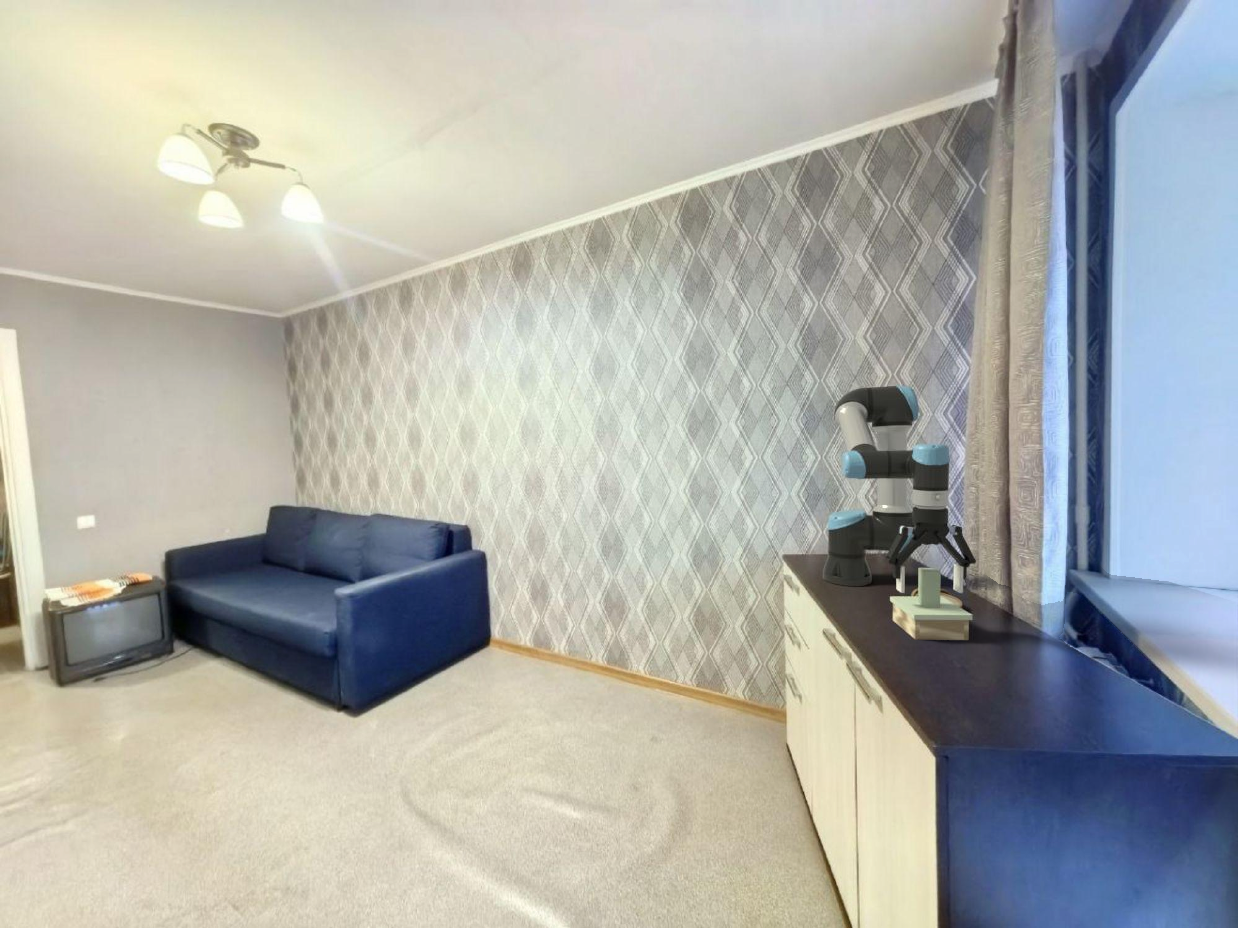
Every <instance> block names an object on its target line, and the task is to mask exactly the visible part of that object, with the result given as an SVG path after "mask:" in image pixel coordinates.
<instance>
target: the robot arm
mask: <svg viewBox="0 0 1238 928" xmlns="http://www.w3.org/2000/svg"><path fill="white" fill-rule="evenodd" d="M919 411H920V408H919V401H918V397H917V394H916V392H915V390H914V389H913V388H912V387H911V386H908V385H887V386H873V387H860V388H856V389H853V390H850V391H849V392H847V393H845V394H844V395H843V396H842V397H840V399H839V400H838V402H837V403H836V405H835V407H834V411H833V412H834V420H835V422H836V424H837V425H838V426H839V427H840V429H841V433H842V436H843V440H844V444H845V447H846V451H845V452H843V455H842V474H843V476H844V477H845V478H847V479H855V480H856V479H857V480H867V479H869V480H870V479H871V480H873V479H876V480H877V481H876V482H877V485H876V486H877V487H876V489H877V505H876V506H875V507H873V509H872V515H871V514H870V515H867V511H865V510H862V509H861V510H860V509H849V510H841V511H836V512H833V513H831V514H830V515H829V516H828V523H827V530H828V532H827V535H828V537H827V539H828V540H827V541H828V543H827V545H828V547H827V553H828V554H827V558H826V561H825V564H824V566H823V569H822V579H823V580H824V581H826V582H828V583H831V584H834V585H838V586H839V585H840V586H847V587H862V586H867V585H870V584H871V583H872V578H873V577H872V576H873V575H872V573H871V569H870V568H869V564H868V561H867V556H866V555H867V551H877V552H878V551H879V552H881V551H882V552H883V551H885V552H887V553H886V555H885V557H884V561H885V562H887V563H888V564H889V565H892V576H893V578H894V579H896V581H895V582H896V585H895V586H896V590H897V591H898V592H899V593H900V594H905V593H906V592H905V589H906V588H905V585H906V584H905V577H906V576H905V575H906V573H905V572H906V571H905V570H906V567H905V566H904V565H903V564H904V563H905V562H906V561H907V560H908V558H910V557H911V555H912V554H913V553H914V552H915V551H916V550H917V548H919V547H921V546H922V545H924V546H929V545H934V546H935V545H936V546H938V545H939V544H940V545H941V546H942V548H944V550H946V552H947V553H948V554H949V555H950V556H951V557H952V558H953V560H955V562H956V563H954V564H953V586H952V589H953V590H954V591H956V592H957V593H959V594H963V593H964V580H966V579H967V575H968V568H969V567H970V566H971V564H972V565H973V564H976V562H977V560H976V558H975V557H974V554H973V551H971V548H970V547H969V545H968V543H967V541H966V539H965V537H964V536H963V535H964V533H963V528H962V527H961V526H959V525H956V524H952V525H951V526H949V509H948V508H947V507H948V506H949V485H950V482H949V481H950V461H951V458H950V449H949V448H950V447H949V446H948V445H947V444H945V443H919V444H918V443H917V444H915V445H914V446H913V448H912V449H908V444H907V442H908V441H907V440H908V438H907V437H908V436H907V434H908V431H910V430H911V428H913V423H914V422H916V421H917V420H918V418H919ZM868 423H870V424H871V428H870V426H869V424H868ZM871 429H873V431H874V432H876V443H875V439H874V437H873V434H872V432H871ZM911 479H912V505H913V507H912V509H911V508H910V507H909V506H908V480H911ZM949 533H950V535H952V538H953V540H954V542H955V544H956V545H957V547H958V549H959V551H960V552H959V551H958V550H957V549H956V548H955V546H954V545H953V544H952V543H951V541H950V540H949V539H948V538H947V536H948V534H949Z"/></svg>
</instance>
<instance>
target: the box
mask: <svg viewBox="0 0 1238 928" xmlns="http://www.w3.org/2000/svg"><path fill="white" fill-rule="evenodd" d="M892 621H893V622H894V623H896V625H898V627H900V628H902V630H904V631H905V632H906V633H907V634H908V635H910V636H911V638H913V639H914V640H925V641H926V640H928V641H929V640H936V641H941V640H942V641H943V640H944V641H947V640H949V641H969V637H970V635H969V632H970V631H969V629H970V628H969V626H970V623H969V622H970V620H914V619H913V618H911V617H910V616H909V615H908V614H906V613H905V612H904V611H902V610H901V609H900V608H899V607H897V606H896V605H895V604H893V603H892Z"/></svg>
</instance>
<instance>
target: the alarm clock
mask: <svg viewBox="0 0 1238 928" xmlns="http://www.w3.org/2000/svg"><path fill="white" fill-rule="evenodd" d="M910 596H918V588H915V589H914V590H912V592H911V594H910ZM940 597H944V598H946V599H947V600H949V601H950V602H952V603H954V604H955V605H957V606H959V607H960V608H962V609H963V602H962V600H960V599H959V598H958V597H956V596H954V595H951V593H950V592H948V591H947V590H946V589H942V588H940Z"/></svg>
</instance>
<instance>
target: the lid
mask: <svg viewBox="0 0 1238 928" xmlns="http://www.w3.org/2000/svg"><path fill="white" fill-rule="evenodd" d="M917 571H918V575H917V576H918V577H917V579H918V581H917V582H918V584H917V585H918V587H917V589H918V596H911V595H910V596H903V595H902V596H898V595H897V596H894V595H893V596H889V601H890V602H891V603H892V605H893V604H895V605H896V606H897V607H899V608H900V609H901V610H902V611H904V612H905V613H906V614H908V615H909V616H910V617H911V618H913V619H914V620H969V621H973V614H972V613H970V612H968V611H966V610H965V609H963V607H962V608H960V607H959V606H957V605H955V604H954V603H952V602H950V601H949V600H947V599H946V598H944V597H940V589H941V586H942V585H941V580H942V579H941V577H942V574H941V573H942V572H941V571H940V570H938V569H936V568H934V567H918V570H917Z"/></svg>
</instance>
